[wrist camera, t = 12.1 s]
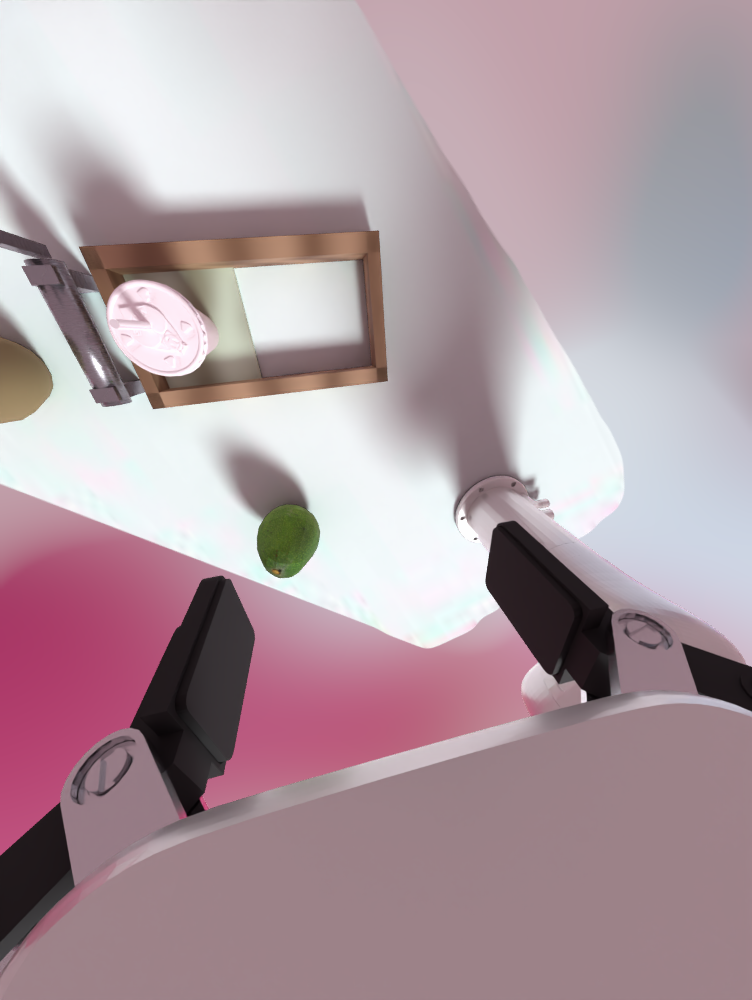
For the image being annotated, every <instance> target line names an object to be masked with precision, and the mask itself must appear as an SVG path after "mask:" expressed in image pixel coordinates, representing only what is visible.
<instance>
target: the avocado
mask: <svg viewBox="0 0 752 1000" xmlns="http://www.w3.org/2000/svg"><path fill="white" fill-rule="evenodd" d="M319 537H320V530H319V525H318V523H317V521H316V519H315V517H314V515H313V514H312V513H310V512H309V511H308V510H307V509H305V508H303V507H300V506H298V505H290V504H285V505H282V506H279V507H277V508H275V509H273V510H272V511H271V512H270V513H269V514H268V515H267V516H266V517H265V518H264V520H263V521H262V523H261V525H260V526H259V529H258V535H257V550H258V553H259V556H260V559H261V561H262V563H263V565H264V567H265V569H266V570H267V571H268V572H269V573H270V574H272V575H274V576H276V577H278V578H289V577H292V576H294V575H296V574H297V573H298V572H299V571H300V570H301V569H302V568H303V567H304V566H305V564H306V563H307V562H308V561H309V560H310V558H311V557H312V556H313V554H314V552H315V551H316V549H317V546H318V542H319Z"/></svg>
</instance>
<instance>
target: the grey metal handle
mask: <svg viewBox="0 0 752 1000" xmlns="http://www.w3.org/2000/svg"><path fill="white" fill-rule="evenodd" d="M0 247H1V248H4V249H8V250H11V251H15V252H18V253H22V254H25V255H29V256H32V257H36V258H39V259H27V260H24V263H25V265H26V266H22V268H23V270H24V272H25V274H26V276H27V277H28V279H29V281H30V283H31V285H32V286H37V287H38V289H39V290H40V292H41V294H42V296H43V298H44V300H45V301H46V303H47V305H48V307H49V309H50V311H51V313H52V314H53V316H54V318H55V320H56V322H57V324H58V325H59V327H60V329H61V331H62V333H63V335H64V337H65V338H66V340H67V342H68V344H69V346H70V348H71V350H72V351H73V353H74V355H75V357H76V359H77V361H78V362H79V364H80V366H81V368H82V370H83V372H84V374H85V375H86V377H87V379H88V381H89V383H90V385H91V386H92V388H93V389H91V390H89V391H90V392H91V394H92V396H93V398H94V400H95V402H96V403H101V405H102V407H108V406H116V405H122V404H126V403H130V402H132V400H131V398H130V397H132V396H135V395H138V394H141V393H144V392H145V390H144V388H143V386H142V384H141V382H140V380H138V381H128V382H122V380H121V377H120V375H119V373H118V371H117V369H116V367H115V365H114V363H113V361H112V359H111V357H110V355H109V353H108V351H107V349H106V347H105V345H104V343H103V340H102V338H101V336H100V334H99V332H98V330H97V328H96V326H95V324H94V322H93V320H92V318H91V316H90V314H89V312H88V310H87V308H86V306H85V304H84V301H83V299H82V297H81V295H80V293H90V292H99V290H98V288H97V286H96V283H95V281H94V279H93V277H92V276H91V275H87V274H83V273H80V272H76V271H72V270H69V269H67V267H66V264H65V263H64V262H62V261H59V260H52V259H47V258H51V256H50V254H49V252H48V250H47V248H46V246H45V245H43V244H40V243H37V242H34V241H31V240H28V239H25V238H22V237H19V236H17V235H14V234H11V233H8V232H5V231H2V230H0Z"/></svg>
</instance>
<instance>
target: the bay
mask: <svg viewBox="0 0 752 1000" xmlns="http://www.w3.org/2000/svg"><path fill="white" fill-rule="evenodd" d="M79 248H80V250H81V253H82V255H83V257H84V259H85V261H86V263H87V266H88V268H89V270H90V272H91V274H92V277H93V279H94V281H95V283H96V285H97V287H98V290H99V292H100V294H101V296H102V298H103V301H104V303H105V305H106V307H107V303H108V300H109V297H110V295H111V294H112V292H113V291H114V290H115V289H116V288H117V287H118V286H119V285H121V284H123V283H125V282H128V281H131V280H149V281H154V282H158V283H161V284H165V285H167V286H169V287H171V288H172V289H174V290H176V291H178V292H179V293H180V294H181V295H183V296H184V297H185V298H186V299H187V300H188V301H189V302H190V303H191V304H192V305H193V307H194V308H196V309H197V310H198V311H200V312H201V313H203V314H204V315H206V316H207V317H209V318H210V319H211V320H212V321H213V323H214V324H215V326H216V327H217V330H218V333H219V342H218V345H217V346H216V348H215V349H214V350H213V351H211V352H210V353H209V354H208V355H206V357H205V359H204V361H203V362H202V364H201V365H200V366H199V367H198V368H197V369H196V370H194V371H193V372H191V373H189V374H185V375H182V376H162V375H157V374H154V373H151V372H149V371H147V370H145V369H143V368H141V367H140V366H138V365H137V364H135V363H134V362H133V361H131V362H132V364H133V366H134V368H135V370H136V373H137V375H138V377H139V379H140V381H141V384H142V386H143V388H144V390H145V392H146V395H147V397H148V399H149V401H150V403H151V405H152V408H153V409H158V408H167V407H175V406H183V405H192V404H200V403H208V402H217V401H225V400H234V399H242V398H250V397H259V396H267V395H276V394H284V393H292V392H301V391H309V390H318V389H326V388H334V387H343V386H351V385H359V384H368V383H376V382H385V381H388V378H387V361H386V344H385V327H384V310H383V293H382V276H381V259H380V242H379V231H363V232H345V233H326V234H307V235H289V236H270V237H251V238H232V239H214V240H195V241H176V242H158V243H139V244H120V245H102V246H83V247H79ZM348 260H363V268H364V280H365V292H366V304H367V316H368V328H369V340H370V353H371V365H372V366H364V367H355V368H346V369H337V370H328V371H319V372H310V373H301V374H292V375H284V376H275V377H266V378H262V375H261V372H260V368H259V364H258V360H257V356H256V352H255V349H254V345H253V341H252V337H251V333H250V329H249V325H248V322H247V318H246V314H245V310H244V306H243V302H242V299H241V295H240V291H239V287H238V283H237V279H236V275H235V272H234V268H242V267H257V266H272V265H287V264H303V263H318V262H333V261H348Z"/></svg>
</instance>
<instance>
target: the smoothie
mask: <svg viewBox="0 0 752 1000" xmlns="http://www.w3.org/2000/svg"><path fill="white" fill-rule="evenodd" d="M106 316H107V323H108V327H109V330H110V332H111V335H112V337H113V339H114V341H115V342H116V344H117V345H118V347H119V348H120V349H121V351H122V352H123V353H124V354H125V355H126V356H127V357H128V358H129V359H130V360H131V361H133V362H134V363H135V364H137V365H138V366H140V367H141V368H143V369H145V370H147V371H149V372H151V373H154V374H157V375H162V376H182V375H185V374H189V373H191V372H193V371H194V370H196V369H197V368H198V367H199V366H200V365H201V364H202V362H203V361H204V359H205V357H206V355H208V354H209V353H210V352H211V351H213V350H214V349H215V348H216V346H217V345H218V342H219V333H218V330H217V327H216V326H215V324H214V323H213V321H212V320H211V319H210V318H209V317H207V316H206V315H204V314H203V313H201V312H200V311H198V310H197V309H196V308H194V307H193V305H192V304H191V303H190V302H189V301H188V300H187V299H186V298H185V297H184V296H183V295H181V294H180V293H179V292H178V291H176V290H174V289H172V288H171V287H169V286H167V285H165V284H161V283H158V282H154V281H149V280H131V281H128V282H125V283H123V284H121V285H119V286H118V287H117V288H116V289H115V290H114V291H113V292H112V294H111V295H110V297H109V300H108V303H107V309H106Z"/></svg>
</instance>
